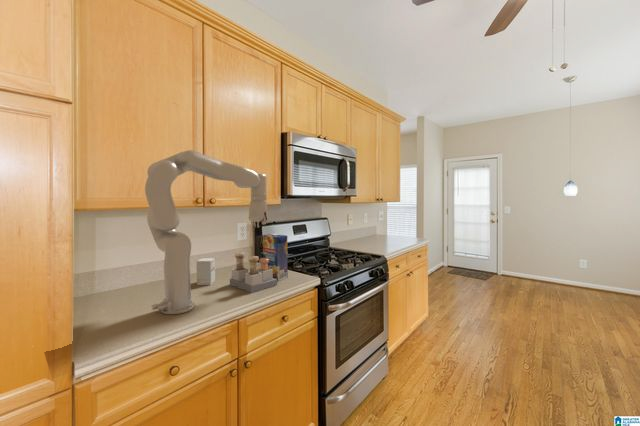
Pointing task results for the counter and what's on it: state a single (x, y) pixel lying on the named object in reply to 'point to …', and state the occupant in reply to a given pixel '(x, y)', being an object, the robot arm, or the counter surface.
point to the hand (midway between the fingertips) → (258, 235)
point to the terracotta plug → (264, 263)
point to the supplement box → (205, 271)
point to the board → (252, 280)
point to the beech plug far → (240, 261)
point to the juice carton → (276, 254)
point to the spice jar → (253, 264)
